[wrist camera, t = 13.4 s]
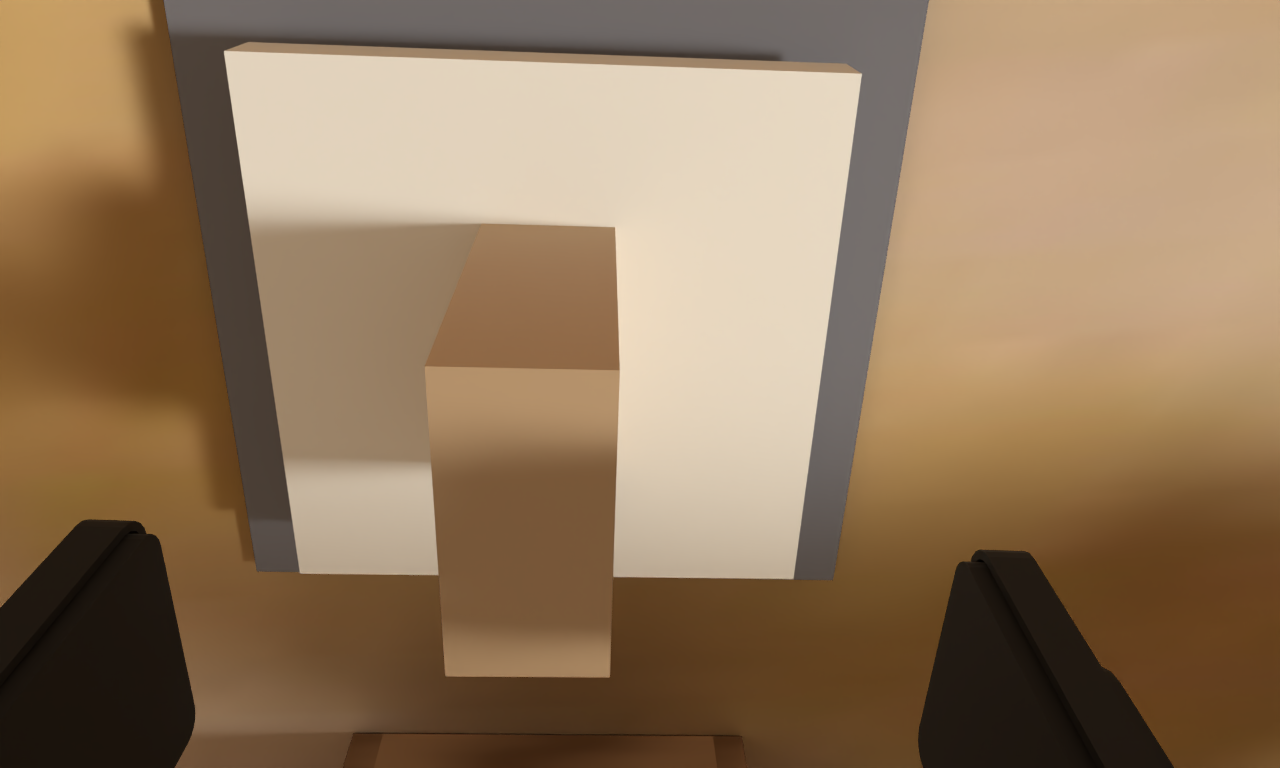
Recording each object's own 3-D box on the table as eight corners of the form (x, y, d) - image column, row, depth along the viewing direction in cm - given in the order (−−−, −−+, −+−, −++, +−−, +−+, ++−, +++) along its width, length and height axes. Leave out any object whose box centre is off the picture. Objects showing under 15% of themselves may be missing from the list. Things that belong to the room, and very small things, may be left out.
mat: (928, -39, 18) (934, -37, 18) (829, 570, 24) (833, 580, 24) (160, -75, 17) (151, -74, 17) (262, 561, 23) (257, 571, 23)
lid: (833, 56, 18) (989, 154, 11) (777, 521, 23) (858, 810, 16) (266, 35, 18) (25, 123, 10) (326, 515, 22) (190, 810, 15)
